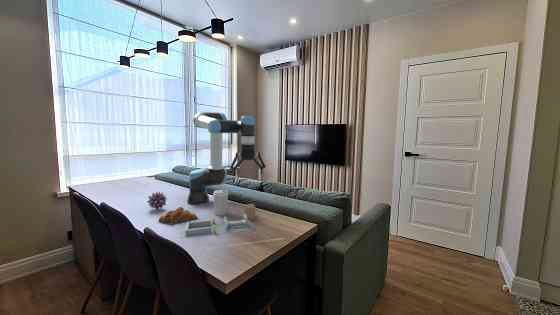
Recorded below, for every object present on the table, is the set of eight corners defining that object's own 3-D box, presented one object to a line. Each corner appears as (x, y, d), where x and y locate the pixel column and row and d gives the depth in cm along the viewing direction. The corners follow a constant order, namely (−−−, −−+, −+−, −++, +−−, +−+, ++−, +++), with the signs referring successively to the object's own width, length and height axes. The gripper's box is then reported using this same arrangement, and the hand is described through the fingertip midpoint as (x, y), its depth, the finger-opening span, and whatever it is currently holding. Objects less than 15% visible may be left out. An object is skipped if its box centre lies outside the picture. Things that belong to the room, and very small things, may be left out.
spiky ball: (168, 205, 165) (167, 188, 163) (166, 211, 153) (165, 193, 152) (149, 207, 161) (148, 190, 160) (146, 213, 150) (145, 194, 148)
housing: (182, 227, 128) (182, 219, 128) (249, 220, 139) (249, 213, 139) (179, 240, 113) (179, 231, 113) (254, 231, 124) (254, 223, 123)
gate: (224, 223, 131) (223, 214, 130) (245, 221, 134) (245, 212, 134) (225, 229, 123) (225, 220, 123) (247, 227, 127) (247, 218, 126)
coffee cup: (225, 218, 142) (224, 193, 141) (210, 217, 144) (209, 192, 143) (231, 213, 152) (231, 189, 150) (217, 211, 153) (217, 188, 152)
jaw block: (245, 217, 144) (244, 204, 143) (253, 216, 146) (253, 203, 145) (246, 220, 139) (246, 207, 138) (255, 220, 140) (255, 206, 139)
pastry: (169, 229, 126) (168, 214, 126) (157, 221, 137) (157, 208, 136) (198, 220, 139) (198, 207, 138) (186, 214, 149) (185, 201, 148)
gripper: (225, 144, 130) (226, 182, 132) (270, 144, 136) (270, 180, 139) (225, 143, 137) (225, 180, 139) (267, 143, 144) (267, 178, 146)
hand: (248, 180), depth 139 cm, fingers open, 13 cm apart
